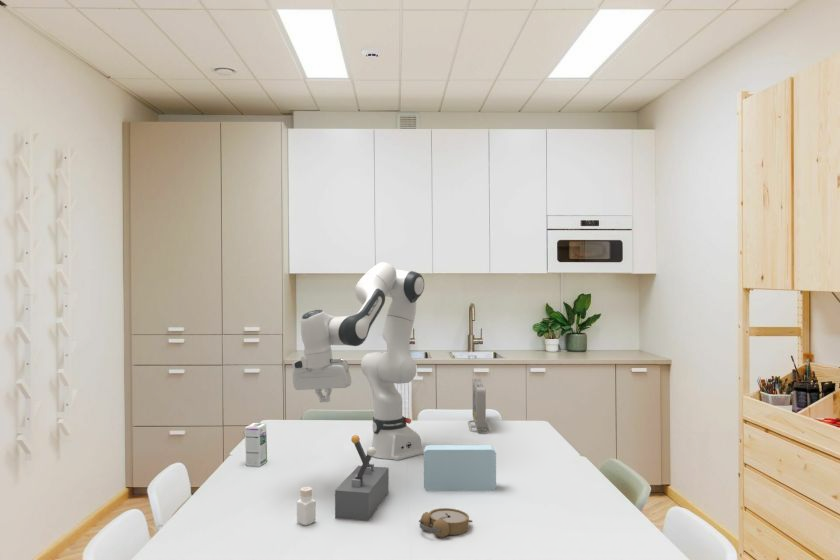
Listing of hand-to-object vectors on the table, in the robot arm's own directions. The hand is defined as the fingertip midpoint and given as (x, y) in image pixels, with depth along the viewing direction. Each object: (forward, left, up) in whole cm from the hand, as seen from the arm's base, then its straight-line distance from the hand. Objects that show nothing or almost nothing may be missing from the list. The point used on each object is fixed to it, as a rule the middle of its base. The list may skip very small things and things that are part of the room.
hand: (325, 401), depth 192 cm
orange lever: (-9, +15, -19) cm, 26 cm away
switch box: (-5, +20, -28) cm, 35 cm away
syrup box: (+15, -34, -28) cm, 47 cm away
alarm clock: (-18, +46, -29) cm, 57 cm away
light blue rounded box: (-38, +22, -28) cm, 52 cm away
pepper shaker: (+14, +24, -28) cm, 39 cm away
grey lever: (-2, +24, -19) cm, 31 cm away
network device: (-86, -39, -28) cm, 99 cm away
